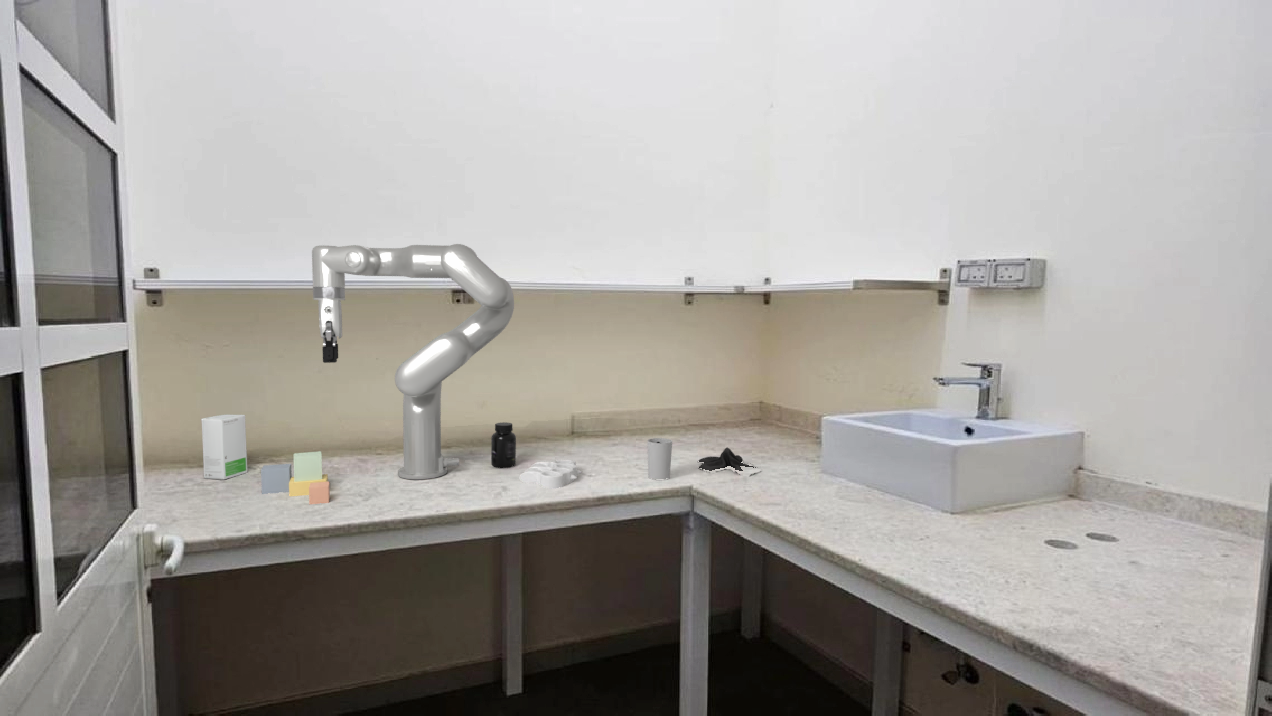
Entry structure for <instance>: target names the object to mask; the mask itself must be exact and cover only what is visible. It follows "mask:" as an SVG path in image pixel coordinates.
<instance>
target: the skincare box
mask: <svg viewBox="0 0 1272 716" xmlns="http://www.w3.org/2000/svg"><path fill="white" fill-rule="evenodd" d="M201 434H202V435H201V437H202V439H201V441H202V453H203V454H202V458H203V459H202V460H203V479H207V480H227V479H230V478H233V477H237V476H240V475H241V476H242V475H243V474H247V473H248V455H247V452H248V451H247V429H246V415H245V414H220V415H214V416H207V417H204V418H201Z"/></svg>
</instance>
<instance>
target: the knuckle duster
mask: <svg viewBox="0 0 1272 716" xmlns="http://www.w3.org/2000/svg"><path fill="white" fill-rule="evenodd" d="M582 473H583V471H581V470H579V469H577V463H576V461H575V460H572V459H557V460H554V461H536V462H535V463H533V464H531V466H530V467H528V468H526V469H525V471H524V472H522V473H521V474H519V477H518V479H519V481H520V482H522V483H523V484H535V485H536V484H537V485H539V486H540V487H541V486H542V488H544V489H560V488H564V485H567V484H571V483H574V480H576V479H578V477H577V475H579V474H582ZM559 487H560V488H559Z"/></svg>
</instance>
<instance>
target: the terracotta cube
mask: <svg viewBox="0 0 1272 716" xmlns="http://www.w3.org/2000/svg"><path fill="white" fill-rule="evenodd" d="M330 491H331V489H330V481H328V482H316V483H310V486H309V495H308V499H309V500H308V501H309V502H308V504H309V505H317V504H319V505H320V503H321V504H329V503H330V499H331V495H330V493H331V492H330Z"/></svg>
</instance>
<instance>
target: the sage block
mask: <svg viewBox="0 0 1272 716" xmlns="http://www.w3.org/2000/svg"><path fill="white" fill-rule="evenodd" d="M322 459H323V456H322V451H320V450H319V451H308V452H295V453H293V477H294V482H299V481H309V480H320V479H322V474H323V463H322V462H323V460H322Z"/></svg>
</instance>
